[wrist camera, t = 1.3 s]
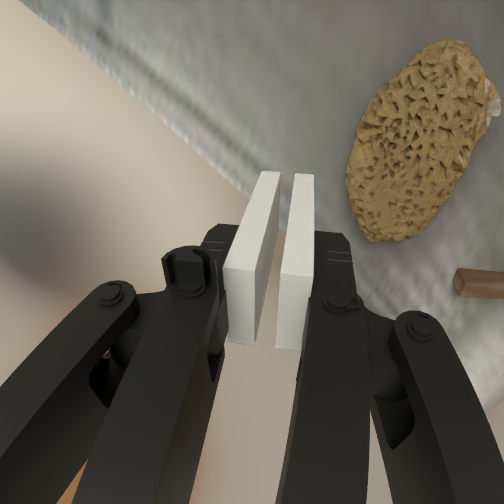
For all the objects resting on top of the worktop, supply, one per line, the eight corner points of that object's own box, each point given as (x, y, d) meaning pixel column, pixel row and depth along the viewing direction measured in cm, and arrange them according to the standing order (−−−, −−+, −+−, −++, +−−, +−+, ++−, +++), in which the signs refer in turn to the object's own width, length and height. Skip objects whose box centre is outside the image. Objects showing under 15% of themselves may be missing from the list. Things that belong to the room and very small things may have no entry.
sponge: (418, 28, 21) (288, 168, 28) (471, 26, 15) (312, 201, 22) (479, 121, 27) (372, 241, 34) (528, 141, 20) (405, 284, 27)
